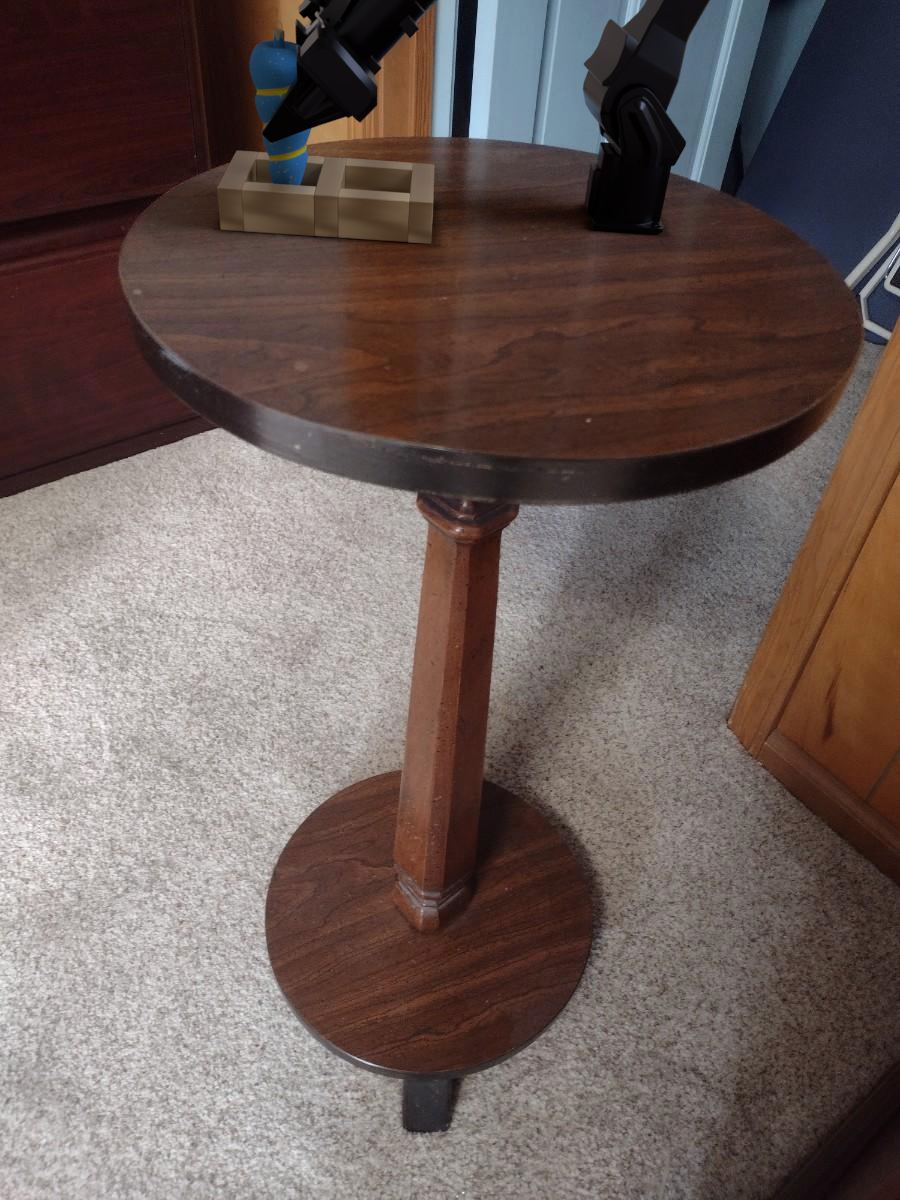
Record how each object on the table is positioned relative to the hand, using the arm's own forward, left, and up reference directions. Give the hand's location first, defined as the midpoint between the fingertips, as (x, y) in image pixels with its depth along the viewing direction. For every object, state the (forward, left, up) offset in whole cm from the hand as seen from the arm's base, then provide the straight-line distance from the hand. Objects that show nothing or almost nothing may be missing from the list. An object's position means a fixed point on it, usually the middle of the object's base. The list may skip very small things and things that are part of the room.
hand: (266, 127), depth 82 cm
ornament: (-1, 0, -7) cm, 7 cm away
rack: (-5, 0, -7) cm, 9 cm away
